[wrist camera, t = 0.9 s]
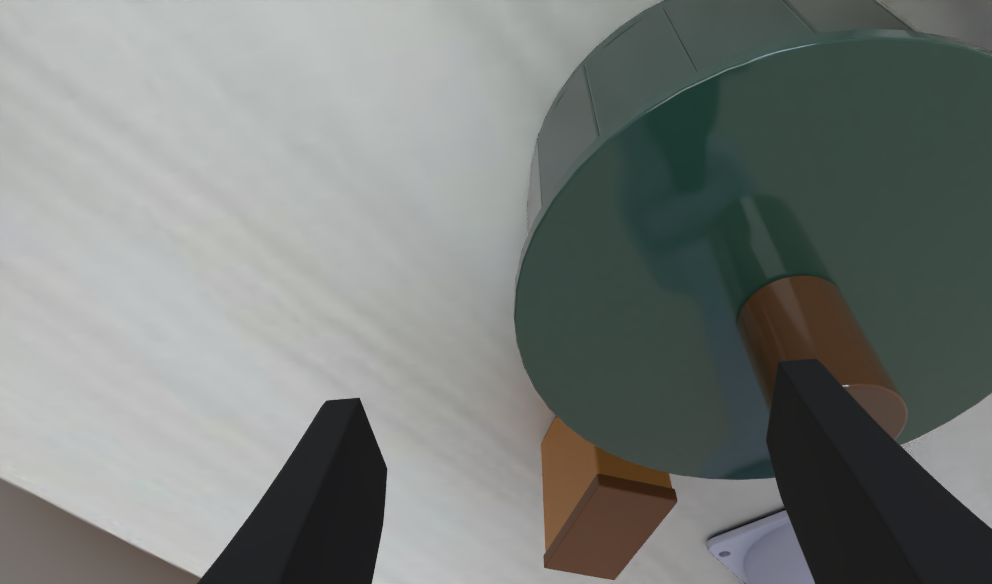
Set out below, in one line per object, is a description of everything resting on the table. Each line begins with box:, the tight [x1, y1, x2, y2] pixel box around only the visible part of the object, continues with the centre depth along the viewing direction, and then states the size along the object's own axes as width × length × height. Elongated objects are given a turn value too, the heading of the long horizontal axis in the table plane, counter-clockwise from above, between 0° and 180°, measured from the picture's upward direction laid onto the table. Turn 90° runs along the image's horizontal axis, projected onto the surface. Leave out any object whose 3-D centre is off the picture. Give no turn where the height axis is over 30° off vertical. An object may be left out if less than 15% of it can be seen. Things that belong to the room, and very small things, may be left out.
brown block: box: [541, 416, 677, 580], centre depth 25 cm, size 5×3×5 cm, turn 163°
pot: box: [527, 0, 925, 234], centre depth 19 cm, size 12×12×6 cm
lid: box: [514, 29, 992, 480], centre depth 15 cm, size 13×13×4 cm
